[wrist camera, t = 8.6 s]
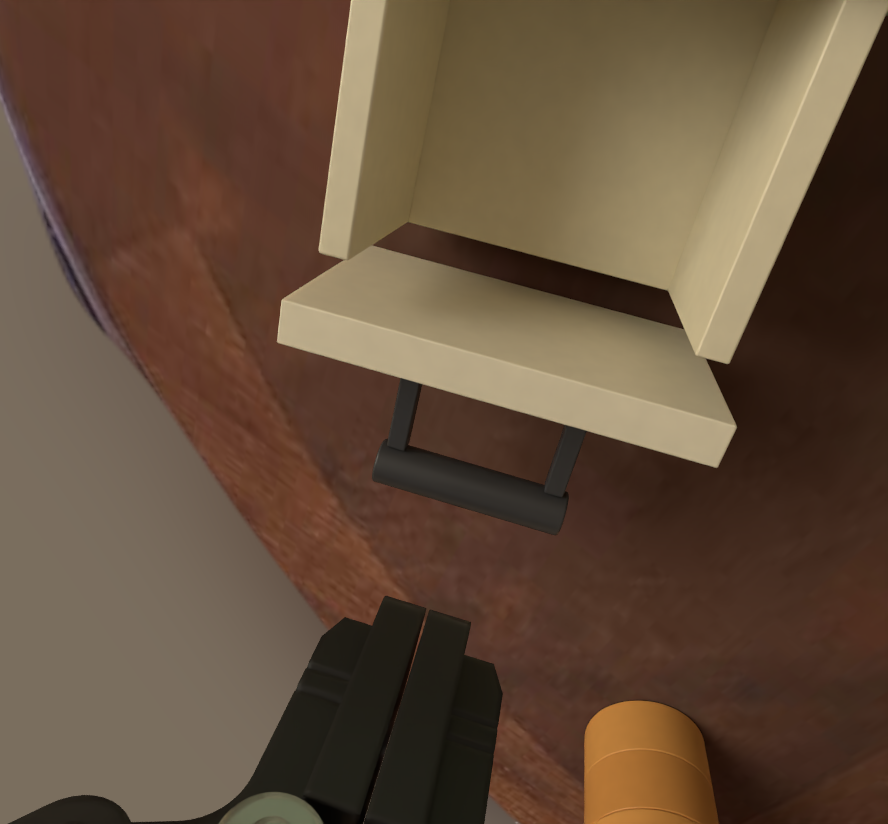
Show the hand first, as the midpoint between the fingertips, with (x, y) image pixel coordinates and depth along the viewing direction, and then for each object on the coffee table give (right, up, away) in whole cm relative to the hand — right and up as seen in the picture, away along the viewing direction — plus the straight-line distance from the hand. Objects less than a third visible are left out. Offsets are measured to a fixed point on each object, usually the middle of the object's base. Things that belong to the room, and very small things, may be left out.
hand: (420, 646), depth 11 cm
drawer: (+4, +11, +10) cm, 15 cm away
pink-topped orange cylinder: (+10, -12, +20) cm, 25 cm away
